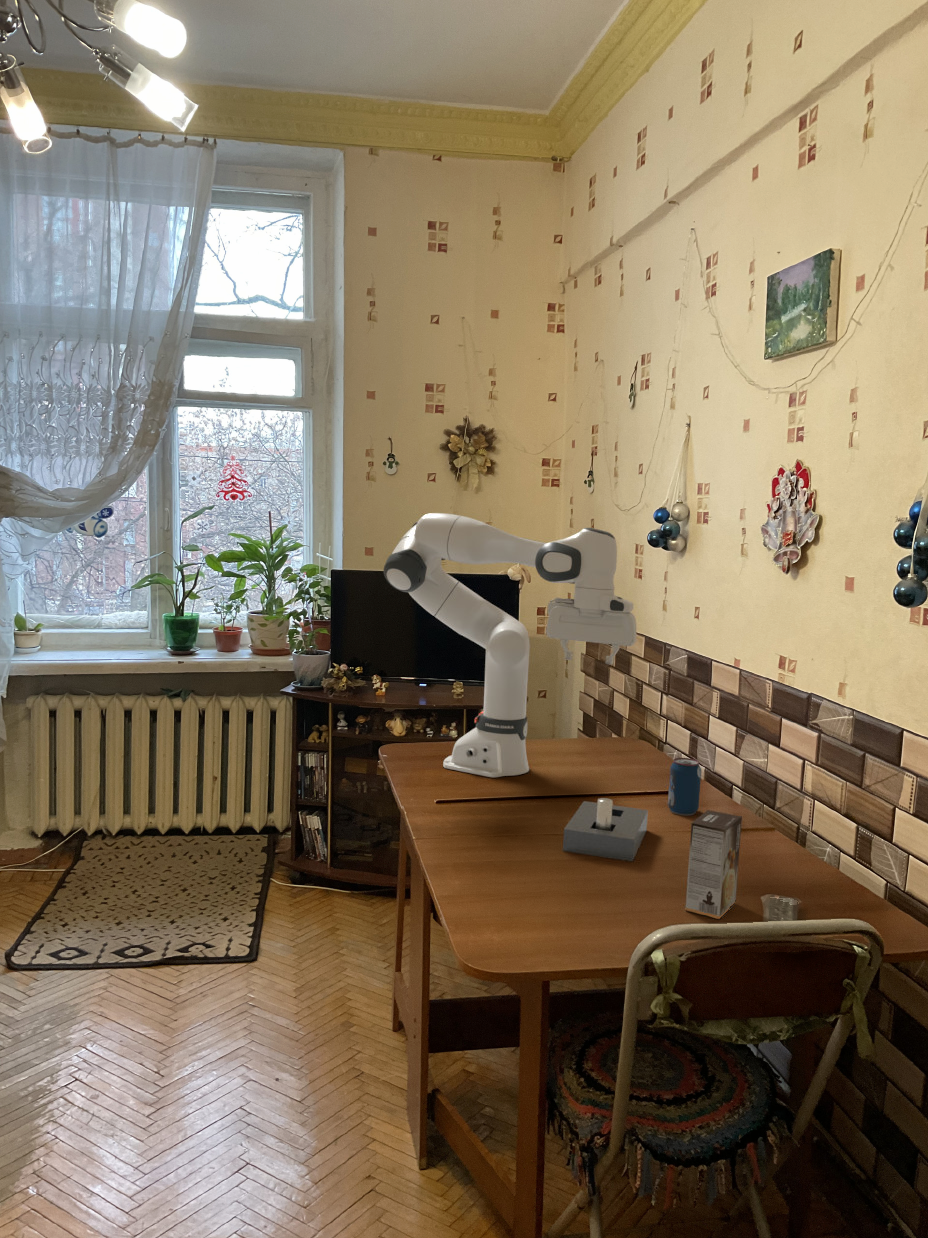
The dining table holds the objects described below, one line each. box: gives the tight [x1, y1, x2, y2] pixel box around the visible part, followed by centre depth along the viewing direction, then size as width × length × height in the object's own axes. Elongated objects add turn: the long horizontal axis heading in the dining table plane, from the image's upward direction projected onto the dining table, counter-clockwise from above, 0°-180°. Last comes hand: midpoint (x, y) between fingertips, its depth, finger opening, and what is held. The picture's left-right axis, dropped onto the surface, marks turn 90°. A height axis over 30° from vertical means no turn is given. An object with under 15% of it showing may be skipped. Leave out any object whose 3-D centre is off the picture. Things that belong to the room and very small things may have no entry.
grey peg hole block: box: [562, 800, 649, 862], centre depth 197 cm, size 14×20×4 cm
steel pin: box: [596, 797, 614, 831], centre depth 192 cm, size 3×3×10 cm
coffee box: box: [685, 809, 743, 916], centre depth 165 cm, size 9×6×16 cm
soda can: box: [667, 757, 702, 816], centre depth 218 cm, size 7×7×12 cm
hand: (588, 661), depth 214 cm, fingers open, 8 cm apart
